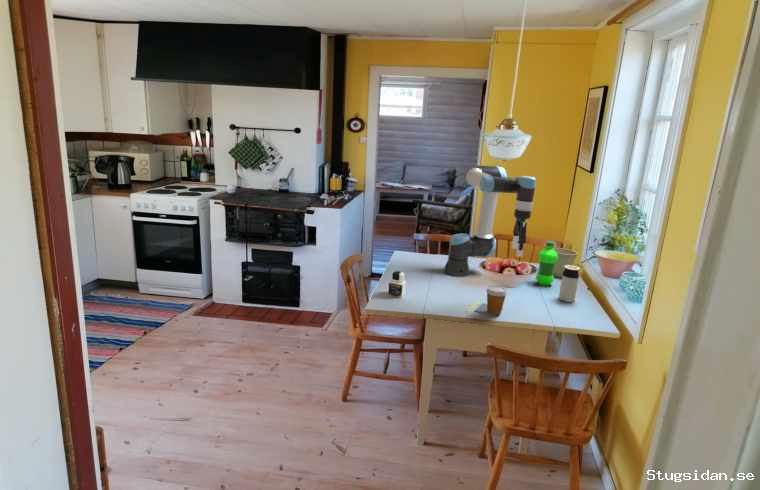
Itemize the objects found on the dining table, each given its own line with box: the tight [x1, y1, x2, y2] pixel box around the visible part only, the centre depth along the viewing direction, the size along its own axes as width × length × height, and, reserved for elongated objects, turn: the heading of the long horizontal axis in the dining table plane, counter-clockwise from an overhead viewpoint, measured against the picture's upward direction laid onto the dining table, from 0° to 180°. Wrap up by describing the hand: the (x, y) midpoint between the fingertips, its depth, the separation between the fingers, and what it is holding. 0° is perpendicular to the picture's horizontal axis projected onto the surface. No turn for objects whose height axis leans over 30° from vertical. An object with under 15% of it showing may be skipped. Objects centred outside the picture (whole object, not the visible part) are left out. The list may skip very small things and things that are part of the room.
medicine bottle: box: [387, 271, 407, 299], centre depth 245 cm, size 7×7×12 cm
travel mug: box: [558, 265, 581, 303], centre depth 254 cm, size 8×8×18 cm
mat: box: [474, 302, 504, 317], centre depth 234 cm, size 10×12×1 cm
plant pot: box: [553, 247, 578, 278], centre depth 295 cm, size 15×15×16 cm
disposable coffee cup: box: [486, 285, 508, 316], centre depth 228 cm, size 10×10×12 cm
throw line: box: [465, 301, 481, 313], centre depth 237 cm, size 1×16×1 cm, turn 149°
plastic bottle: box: [535, 241, 558, 287], centre depth 275 cm, size 10×10×25 cm
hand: (516, 252), depth 234 cm, fingers open, 13 cm apart
